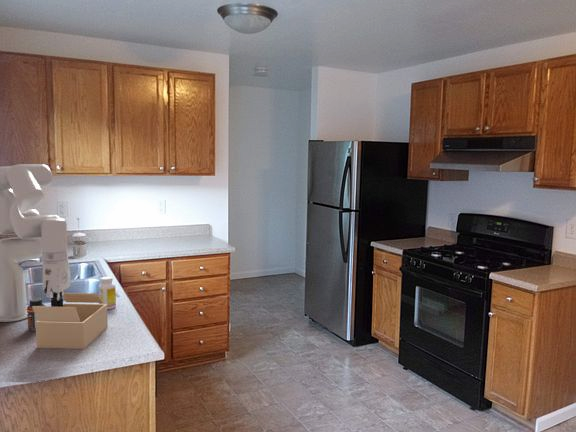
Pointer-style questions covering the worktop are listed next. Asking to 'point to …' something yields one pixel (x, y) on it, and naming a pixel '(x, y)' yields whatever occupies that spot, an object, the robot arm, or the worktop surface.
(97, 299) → the back flap
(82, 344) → the carton
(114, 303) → the supplement bottle
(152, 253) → the worktop surface
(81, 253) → the french press
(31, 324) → the supplement bottle
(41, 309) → the front flap
